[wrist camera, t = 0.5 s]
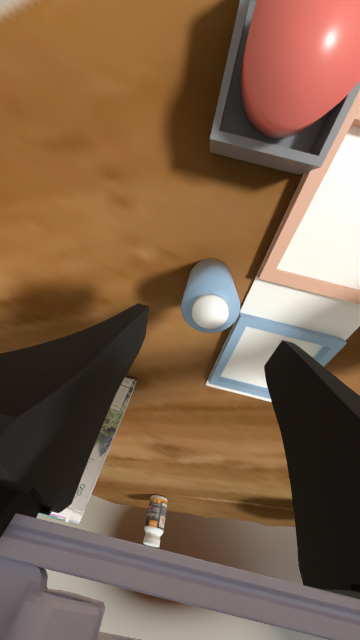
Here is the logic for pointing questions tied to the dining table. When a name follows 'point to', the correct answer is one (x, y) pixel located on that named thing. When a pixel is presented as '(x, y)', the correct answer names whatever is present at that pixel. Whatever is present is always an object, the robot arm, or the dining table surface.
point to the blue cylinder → (210, 297)
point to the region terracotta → (293, 217)
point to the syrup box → (98, 454)
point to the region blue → (327, 341)
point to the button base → (245, 141)
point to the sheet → (309, 273)
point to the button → (299, 62)
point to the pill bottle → (155, 520)
